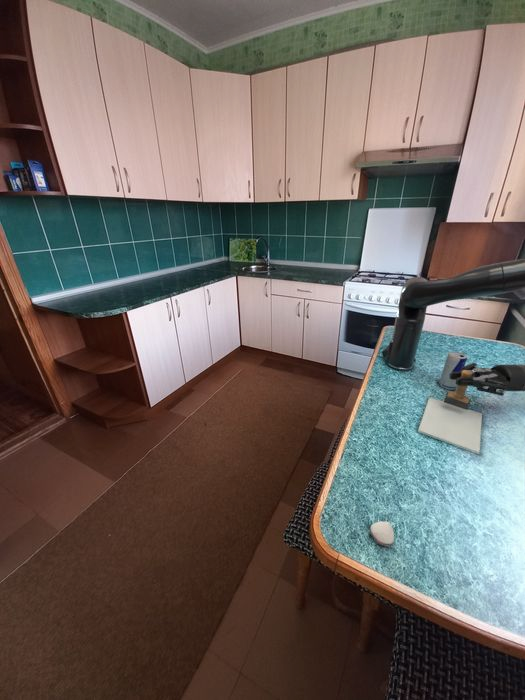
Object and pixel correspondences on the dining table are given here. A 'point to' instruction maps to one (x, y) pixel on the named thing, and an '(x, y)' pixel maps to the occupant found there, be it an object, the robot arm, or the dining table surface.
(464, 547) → the dining table surface
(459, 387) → the scrub brush
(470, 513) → the dining table surface
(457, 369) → the energy drink
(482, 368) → the robot arm
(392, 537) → the beige rounded stone
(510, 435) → the dining table surface
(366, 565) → the dining table surface
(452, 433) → the white tile
